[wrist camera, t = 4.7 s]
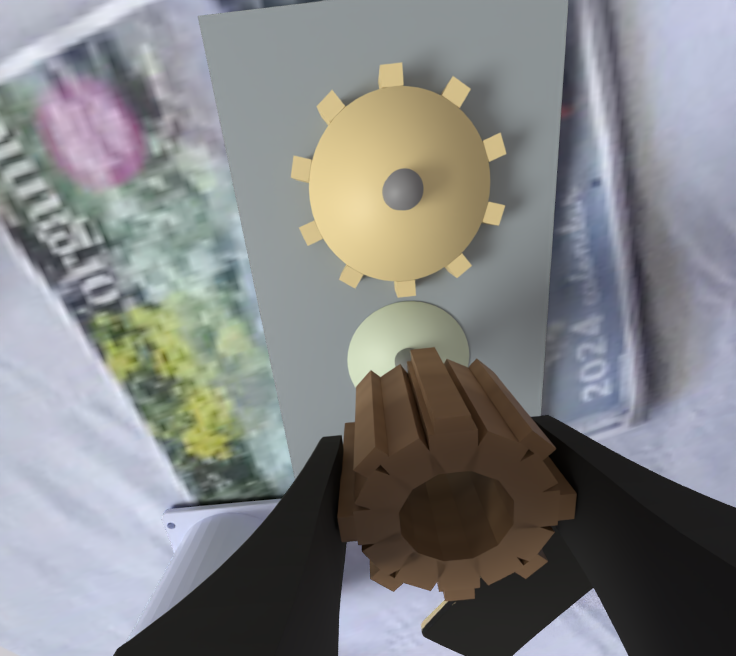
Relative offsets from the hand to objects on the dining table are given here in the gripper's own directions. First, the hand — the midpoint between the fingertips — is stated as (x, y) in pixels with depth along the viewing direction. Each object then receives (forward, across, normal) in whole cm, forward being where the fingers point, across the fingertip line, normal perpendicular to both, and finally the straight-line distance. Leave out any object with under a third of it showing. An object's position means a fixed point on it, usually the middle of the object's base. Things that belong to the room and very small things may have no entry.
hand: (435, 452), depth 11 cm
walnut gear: (+1, 0, 0) cm, 1 cm away
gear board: (+8, 0, -4) cm, 9 cm away
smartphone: (+9, -7, +19) cm, 22 cm away
